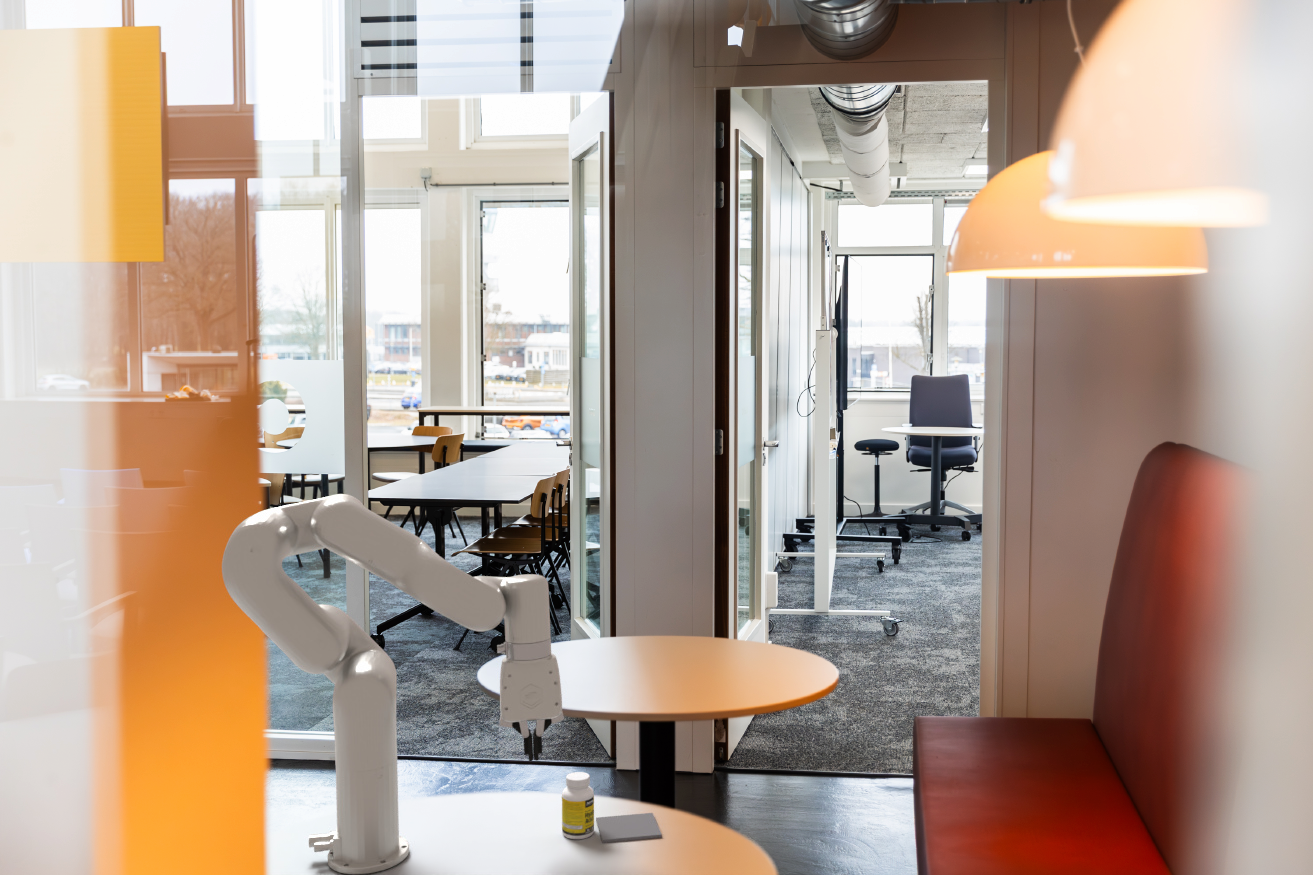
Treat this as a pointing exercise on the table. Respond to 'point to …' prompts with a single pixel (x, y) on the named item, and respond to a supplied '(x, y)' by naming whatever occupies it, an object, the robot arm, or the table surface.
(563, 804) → the supplement bottle
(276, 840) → the table surface
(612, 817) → the mat
